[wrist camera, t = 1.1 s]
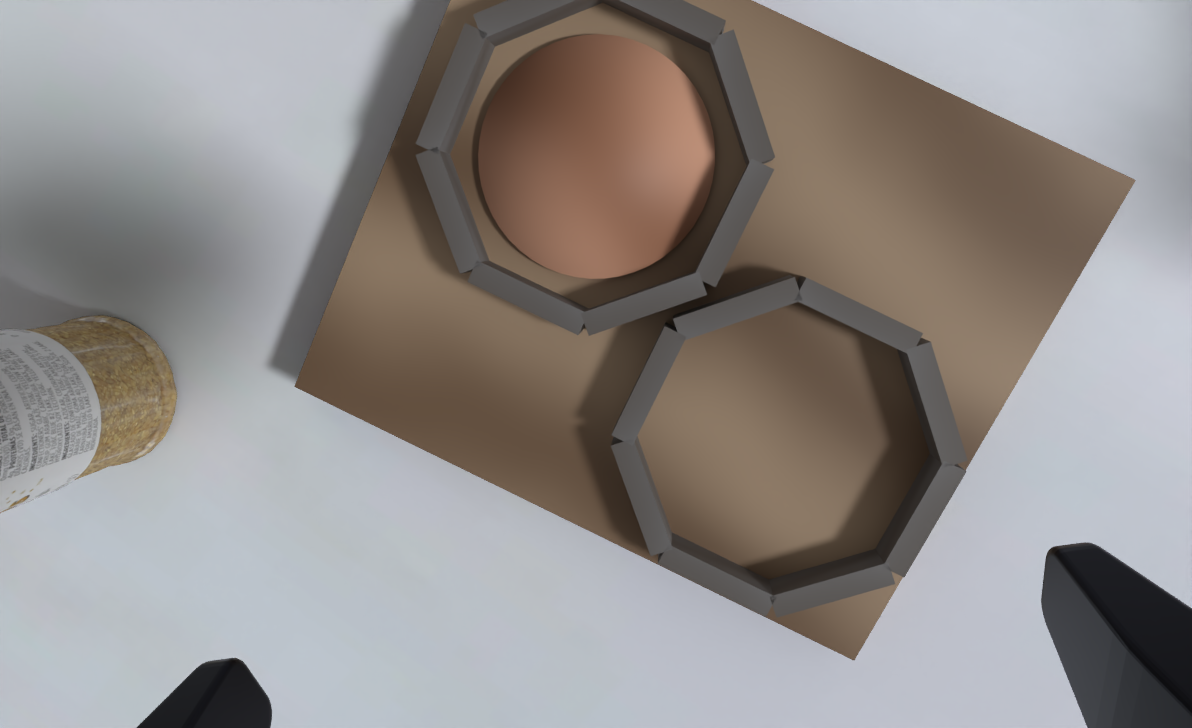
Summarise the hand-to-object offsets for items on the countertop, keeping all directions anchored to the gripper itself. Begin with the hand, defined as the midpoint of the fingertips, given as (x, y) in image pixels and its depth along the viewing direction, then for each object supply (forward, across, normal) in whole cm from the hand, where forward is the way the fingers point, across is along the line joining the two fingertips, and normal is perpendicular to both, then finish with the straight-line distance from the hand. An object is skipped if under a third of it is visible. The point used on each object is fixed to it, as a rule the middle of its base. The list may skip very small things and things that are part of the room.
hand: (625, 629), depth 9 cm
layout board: (+14, -1, +3) cm, 14 cm away
